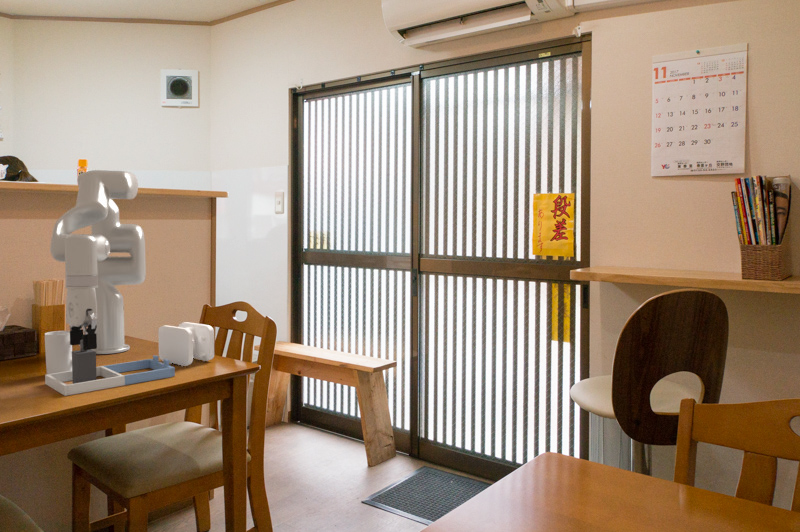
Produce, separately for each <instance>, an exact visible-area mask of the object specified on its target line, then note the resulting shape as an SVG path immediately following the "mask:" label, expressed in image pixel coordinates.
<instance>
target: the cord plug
mask: <svg viewBox="0 0 800 532" xmlns="http://www.w3.org/2000/svg"><path fill="white" fill-rule="evenodd" d="M79 349H80V350H79ZM79 349H78V350H72V379H73V380H72V384H75V383H81V382H87V381H93V380H98V379H97V378H98V376H96V367H97V354H96V351H94V350H83V340H80V346H79Z"/></svg>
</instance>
